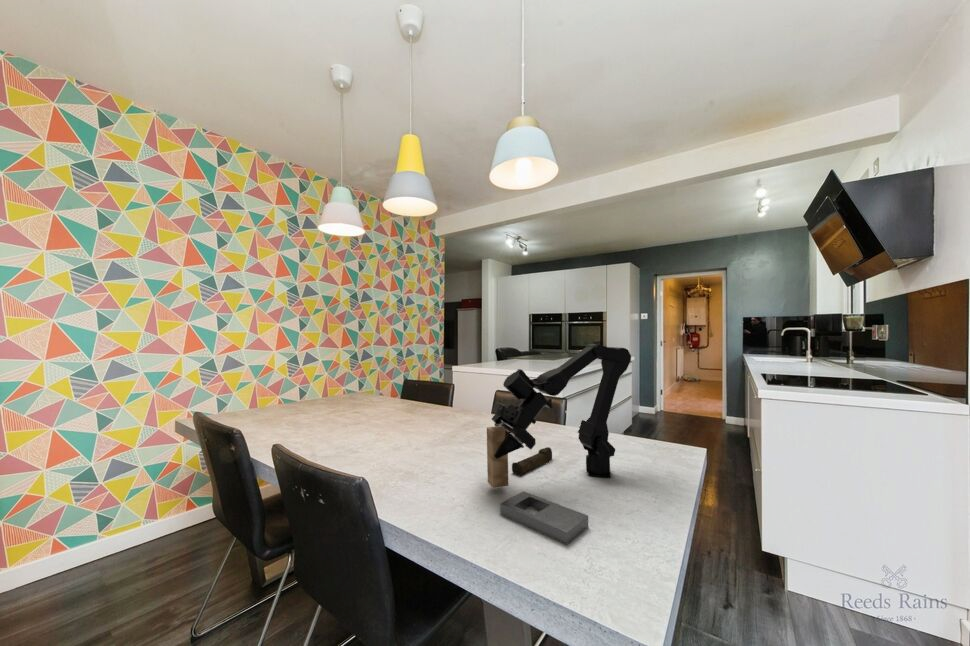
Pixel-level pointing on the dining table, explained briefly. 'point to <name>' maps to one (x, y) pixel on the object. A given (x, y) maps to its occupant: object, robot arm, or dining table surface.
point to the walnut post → (496, 466)
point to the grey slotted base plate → (545, 517)
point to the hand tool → (532, 461)
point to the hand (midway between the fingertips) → (492, 454)
